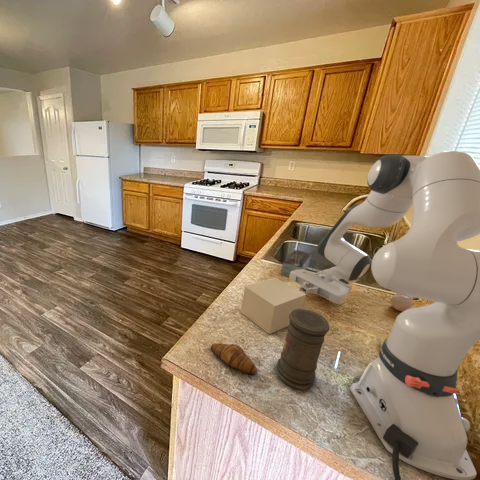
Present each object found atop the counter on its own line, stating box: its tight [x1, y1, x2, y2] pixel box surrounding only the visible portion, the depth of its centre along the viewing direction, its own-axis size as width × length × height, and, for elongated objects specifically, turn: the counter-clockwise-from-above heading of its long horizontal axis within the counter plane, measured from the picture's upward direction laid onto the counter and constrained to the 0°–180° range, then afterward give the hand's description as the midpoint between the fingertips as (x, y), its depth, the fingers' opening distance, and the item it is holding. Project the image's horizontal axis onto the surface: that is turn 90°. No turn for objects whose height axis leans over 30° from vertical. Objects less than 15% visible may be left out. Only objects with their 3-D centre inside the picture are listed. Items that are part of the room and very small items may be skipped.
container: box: [275, 308, 330, 391], centre depth 66 cm, size 9×9×18 cm
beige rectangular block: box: [240, 276, 307, 335], centre depth 90 cm, size 15×13×11 cm
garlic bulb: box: [390, 292, 415, 312], centre depth 95 cm, size 7×6×8 cm
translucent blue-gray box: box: [281, 249, 312, 277], centre depth 124 cm, size 8×19×7 cm, turn 140°
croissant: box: [210, 342, 258, 376], centre depth 72 cm, size 14×7×5 cm, turn 48°
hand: (303, 289), depth 96 cm, fingers closed
